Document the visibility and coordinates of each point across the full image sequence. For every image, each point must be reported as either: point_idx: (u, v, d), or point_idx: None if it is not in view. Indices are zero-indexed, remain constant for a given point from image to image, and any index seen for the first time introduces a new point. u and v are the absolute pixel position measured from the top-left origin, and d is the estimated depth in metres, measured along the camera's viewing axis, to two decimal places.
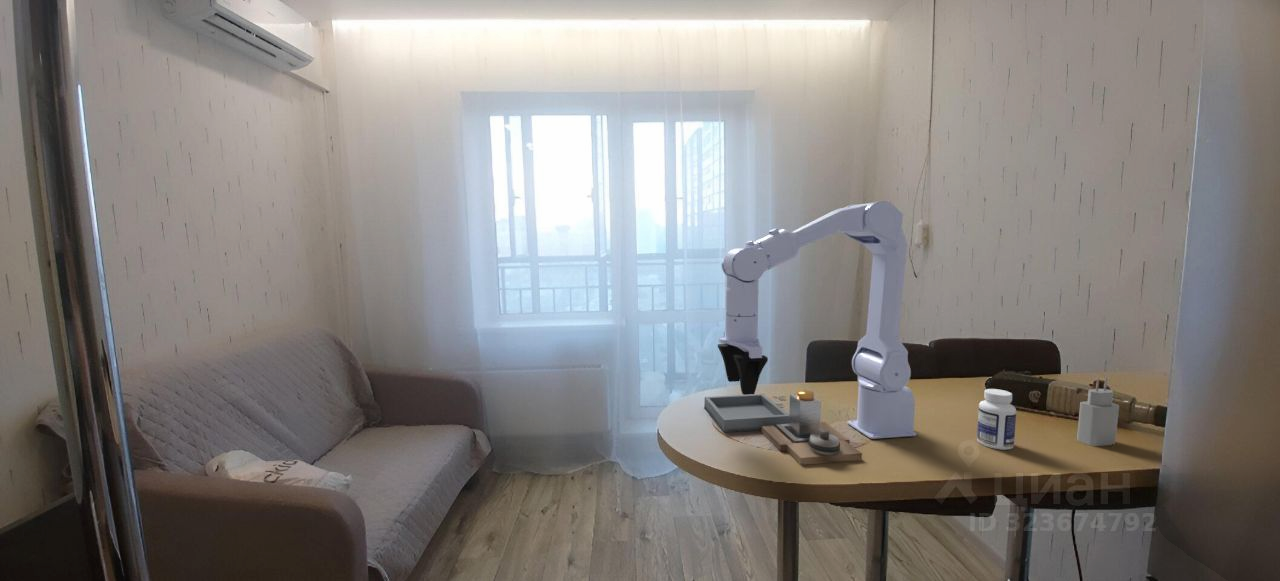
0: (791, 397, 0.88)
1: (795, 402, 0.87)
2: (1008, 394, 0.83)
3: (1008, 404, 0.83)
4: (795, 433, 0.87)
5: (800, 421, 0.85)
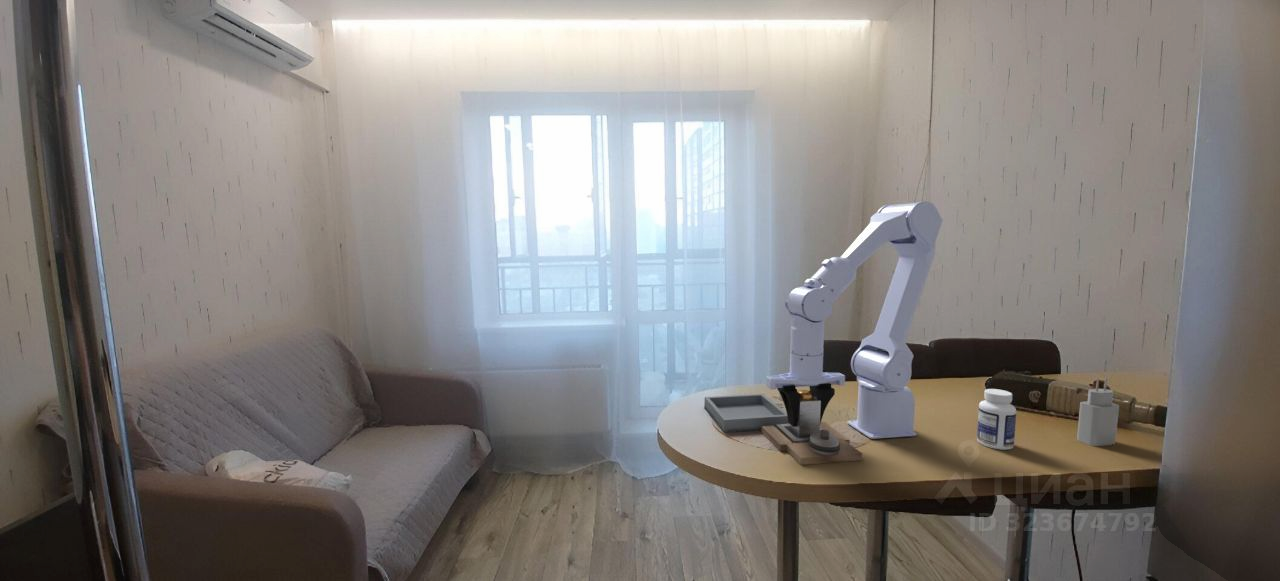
0: None
1: None
2: (1008, 394, 0.83)
3: (1008, 404, 0.83)
4: (795, 433, 0.87)
5: (800, 421, 0.85)
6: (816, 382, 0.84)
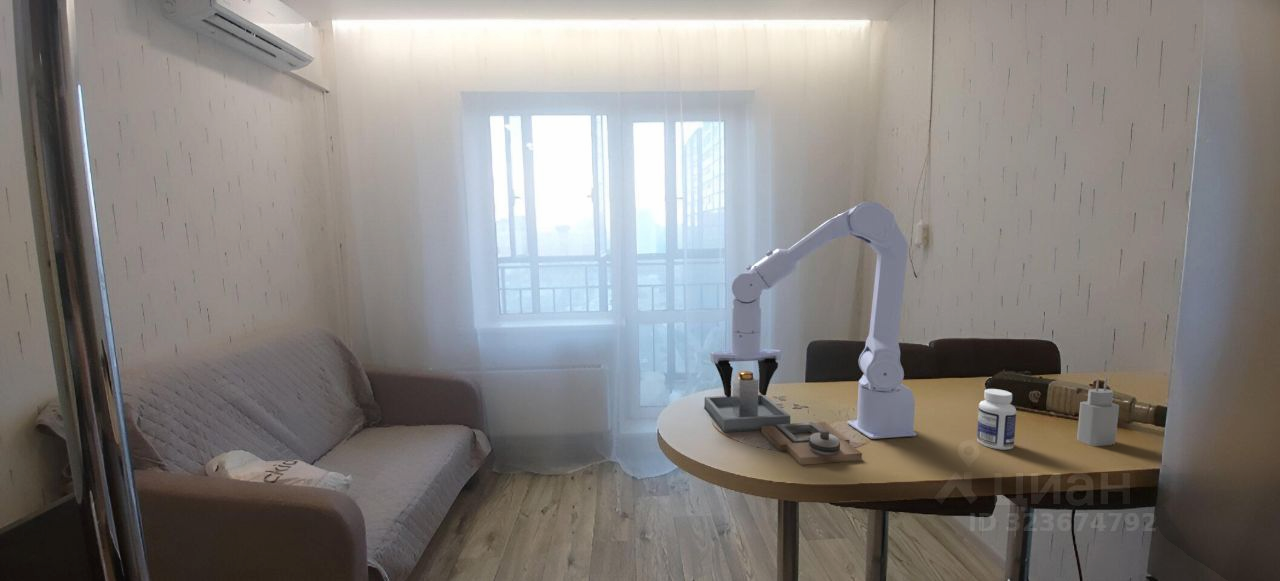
0: (734, 377, 0.99)
1: (736, 381, 0.97)
2: (1008, 394, 0.83)
3: (1008, 404, 0.83)
4: (736, 409, 0.98)
5: (740, 398, 0.96)
6: (753, 356, 0.94)
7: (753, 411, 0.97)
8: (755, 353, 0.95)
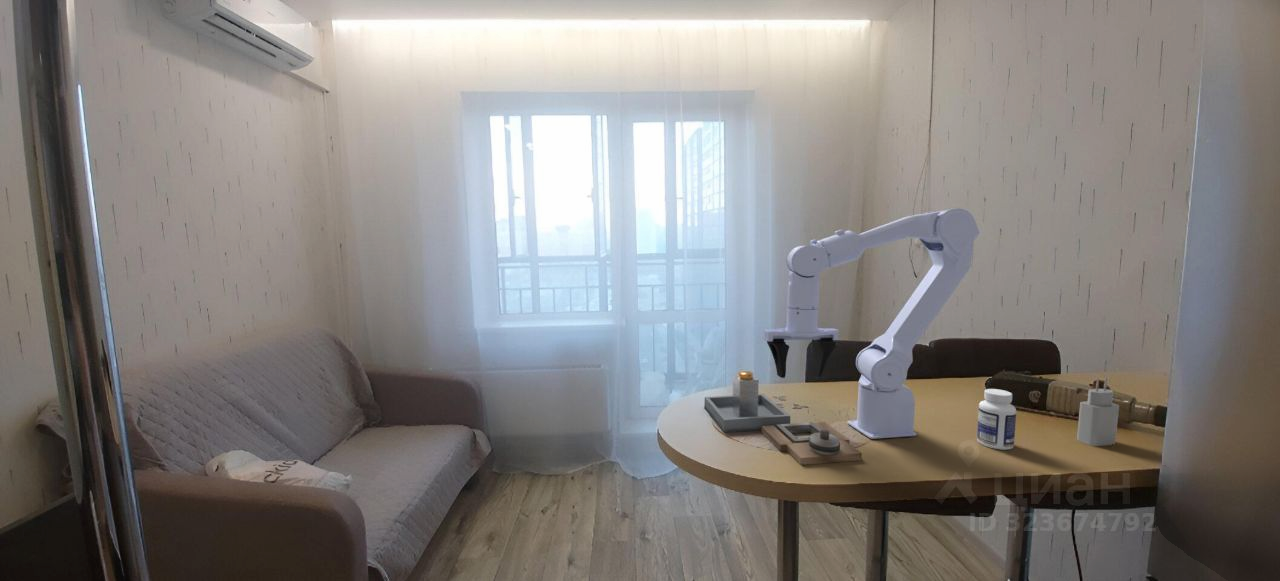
0: (734, 377, 0.99)
1: (736, 381, 0.97)
2: (1008, 394, 0.83)
3: (1008, 404, 0.83)
4: (736, 409, 0.98)
5: (740, 398, 0.96)
6: (811, 334, 0.89)
7: (753, 411, 0.97)
8: (813, 331, 0.89)
